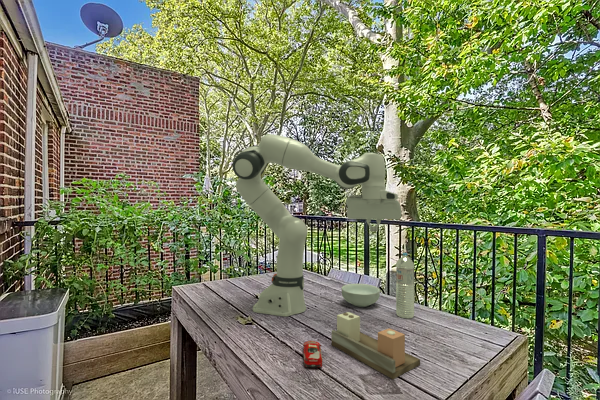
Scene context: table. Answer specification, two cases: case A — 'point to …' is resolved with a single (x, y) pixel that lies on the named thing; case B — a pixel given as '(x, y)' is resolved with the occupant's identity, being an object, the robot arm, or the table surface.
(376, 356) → the board
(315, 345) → the race car
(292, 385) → the table surface
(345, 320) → the cream rectangular block
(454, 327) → the table surface
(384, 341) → the terracotta key
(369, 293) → the cereal bowl
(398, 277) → the water bottle
